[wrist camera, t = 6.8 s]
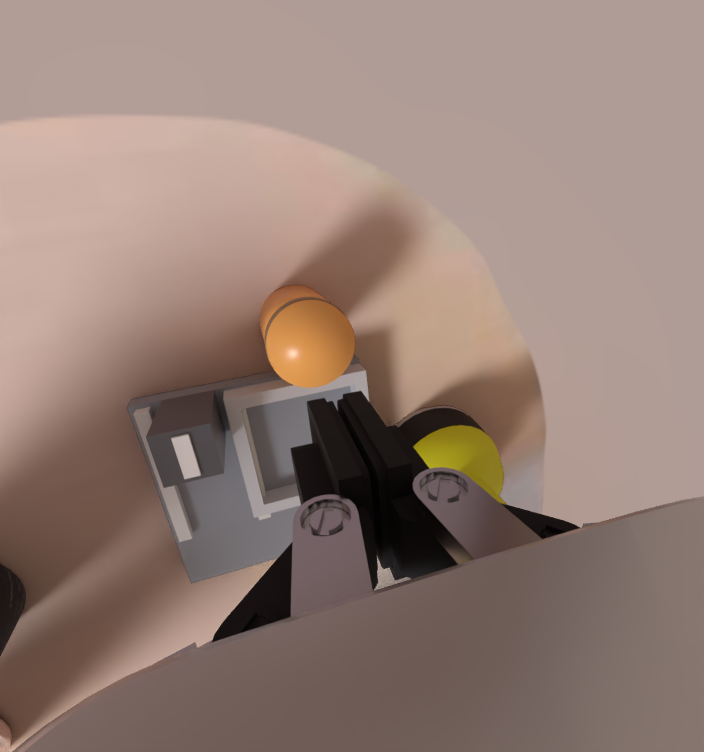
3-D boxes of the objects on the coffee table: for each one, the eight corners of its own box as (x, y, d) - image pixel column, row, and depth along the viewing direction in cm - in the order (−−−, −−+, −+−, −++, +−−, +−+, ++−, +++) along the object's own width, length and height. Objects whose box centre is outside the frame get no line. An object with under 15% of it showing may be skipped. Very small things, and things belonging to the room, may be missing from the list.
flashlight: (817, 1120, 7) (732, 1172, 10) (1152, 849, 8) (974, 978, 12) (365, 427, 29) (388, 519, 33) (474, 389, 31) (485, 481, 34)
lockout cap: (334, 347, 26) (360, 378, 21) (266, 360, 25) (275, 397, 20) (325, 278, 25) (350, 293, 19) (252, 290, 24) (257, 309, 18)
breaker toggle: (225, 433, 25) (224, 474, 21) (175, 444, 24) (163, 489, 20) (214, 389, 24) (210, 424, 20) (161, 400, 23) (144, 438, 19)
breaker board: (373, 518, 32) (384, 541, 30) (192, 570, 29) (189, 600, 27) (354, 354, 27) (365, 367, 25) (131, 399, 24) (120, 417, 22)
